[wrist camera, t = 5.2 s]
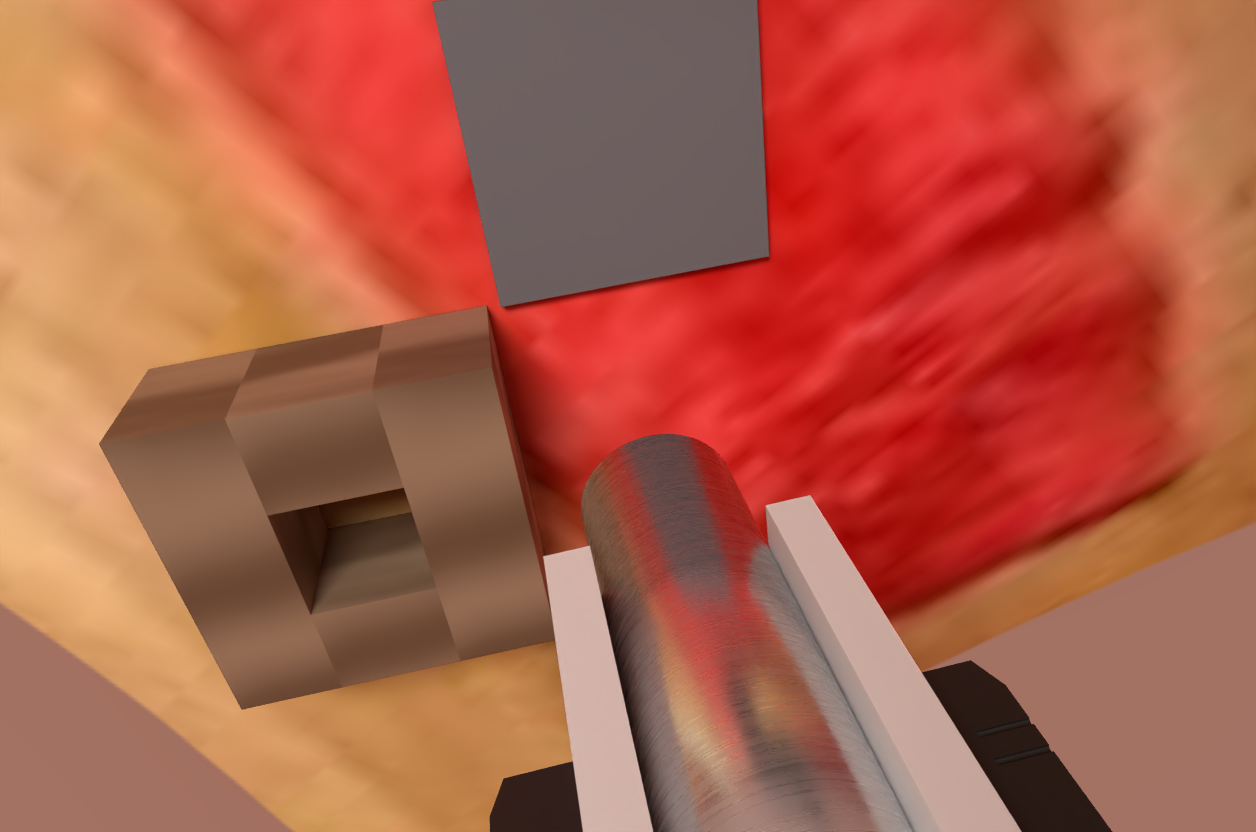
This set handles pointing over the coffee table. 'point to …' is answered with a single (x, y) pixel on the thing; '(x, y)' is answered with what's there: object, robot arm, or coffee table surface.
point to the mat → (609, 137)
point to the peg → (720, 657)
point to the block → (333, 471)
